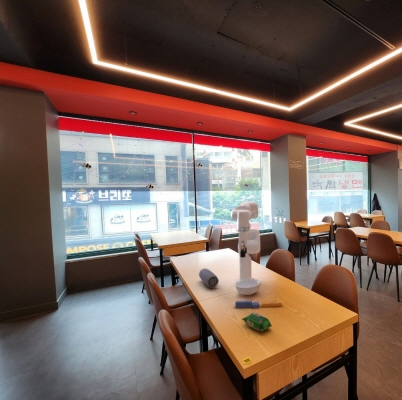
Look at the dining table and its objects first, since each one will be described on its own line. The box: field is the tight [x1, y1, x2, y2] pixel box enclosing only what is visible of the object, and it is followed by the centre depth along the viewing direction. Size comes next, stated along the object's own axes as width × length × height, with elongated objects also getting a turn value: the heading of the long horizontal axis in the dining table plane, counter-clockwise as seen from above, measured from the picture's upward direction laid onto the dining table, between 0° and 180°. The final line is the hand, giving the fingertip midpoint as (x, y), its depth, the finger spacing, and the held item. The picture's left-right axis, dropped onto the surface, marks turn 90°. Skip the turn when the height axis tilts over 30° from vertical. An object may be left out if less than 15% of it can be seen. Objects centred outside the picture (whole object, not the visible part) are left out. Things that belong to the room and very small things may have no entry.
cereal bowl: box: [235, 278, 261, 296], centre depth 157 cm, size 17×17×7 cm
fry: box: [261, 301, 282, 308], centre depth 138 cm, size 12×2×2 cm, turn 93°
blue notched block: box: [234, 300, 260, 309], centre depth 137 cm, size 14×4×3 cm, turn 93°
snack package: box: [241, 312, 272, 333], centre depth 115 cm, size 7×16×5 cm, turn 52°
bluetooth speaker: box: [198, 267, 219, 288], centre depth 173 cm, size 23×9×10 cm, turn 35°
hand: (243, 255), depth 149 cm, fingers open, 9 cm apart
